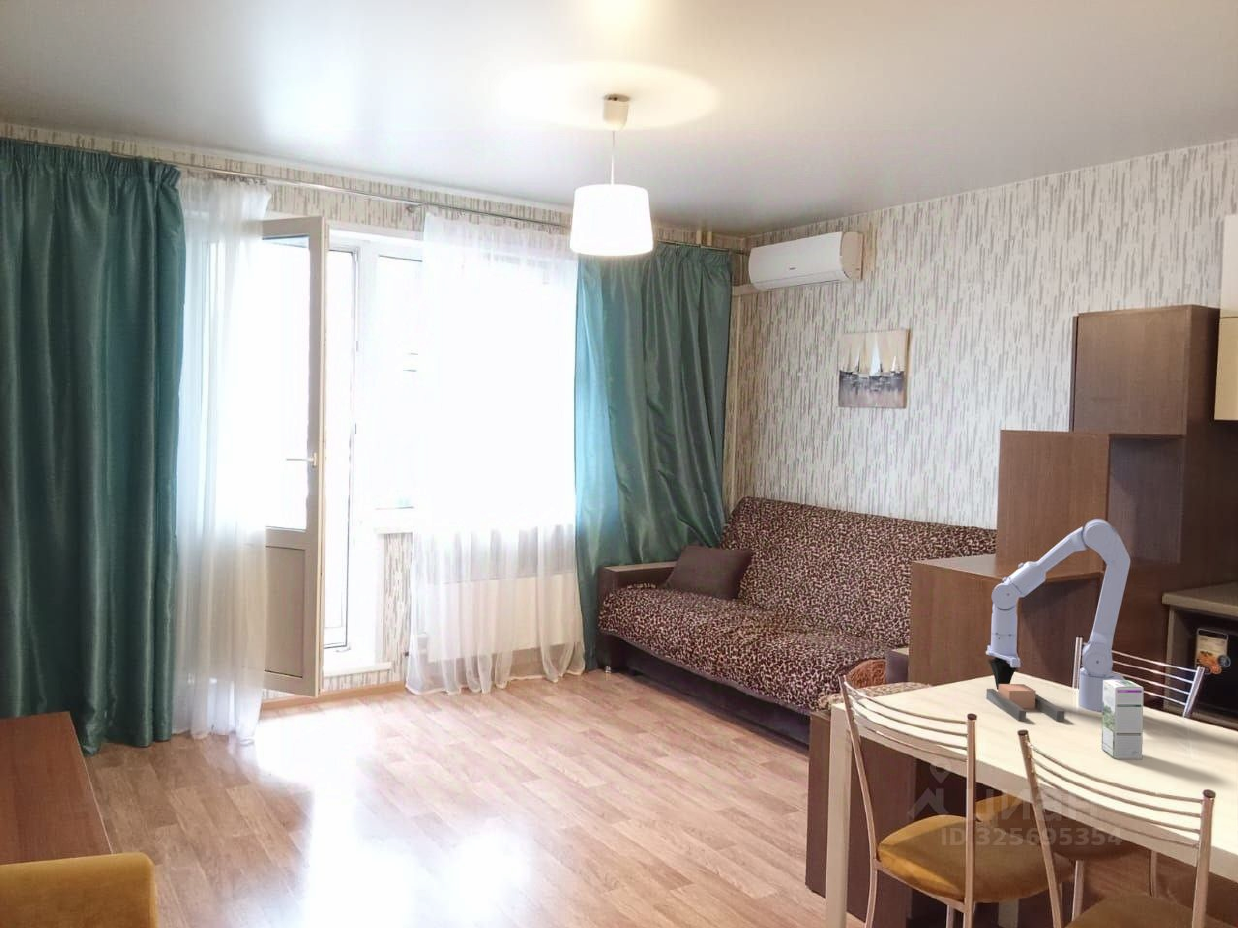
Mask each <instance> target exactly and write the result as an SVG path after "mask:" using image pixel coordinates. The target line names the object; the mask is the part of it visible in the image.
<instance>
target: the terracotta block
mask: <svg viewBox="0 0 1238 928" xmlns="http://www.w3.org/2000/svg"><path fill="white" fill-rule="evenodd" d="M997 692H999V693H1000V694H1002V695H1003V696H1005V697H1006V698H1008V699H1009V700H1011V701H1012V702H1014V703H1015V704H1017V705H1018V706H1020V707H1021V708H1023V709H1031V710H1032V709H1033V710H1034V709H1036V708H1035V693H1036V690H1034V689H1033V688H1031V687H1030V686H1028V685H1026V684H1023V683H1022V684H1021V683H1015V684H1013V683H1010V684H999V690H997Z"/></svg>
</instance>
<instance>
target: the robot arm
mask: <svg viewBox="0 0 1238 928" xmlns="http://www.w3.org/2000/svg"><path fill="white" fill-rule="evenodd" d="M1087 546H1088V547H1089V548H1090V549H1092V550H1093V551H1094V552H1096V553H1098V554H1099V556H1100V557H1101V558H1102V560H1103V561H1104V562H1105V564H1106V567H1105V568H1106V569H1105V571H1104V572H1105V573H1104V575H1103V577H1104V578H1103V580H1102V586H1101V590H1100V593H1099V599H1098V604H1097V608H1096V613H1095V616H1094V622H1093V625H1092V626H1093V627H1092V629H1091V633H1090V637H1089V640H1088V642H1087V643H1085V645H1084V647H1083V648H1082V650H1081V652H1082V653H1081V654H1082V655H1081V656H1082V658H1081V662H1082V663H1081V664H1082V666H1083V667H1080V669H1079V678H1078V679H1079V681H1078V707H1080V708H1081V709H1085V710H1088V711H1095V712H1102V704H1103V680H1116V679H1118V680H1126V679H1125V678H1124V676H1123V675H1122V674H1120V673H1115V671H1113V666H1114V660H1113V652H1112V648H1113V644H1114V635H1115V632H1116V627H1117V623H1118V619H1119V615H1120V611H1121V610H1120V609H1121V605H1122V601H1123V598H1124V597H1123V596H1124V591H1125V589H1126V588H1125V587H1126V584H1127V578H1128V575H1129V570H1130V566H1131V558H1130V555H1129V553H1128V552H1127V549H1126V547H1125V545H1124V543H1123V541H1122V539H1121V536H1120V534H1119V533H1118V531H1117V529H1115V528H1114V527H1113V526H1112V524H1110V523H1109V522H1108V521H1106V520H1104V519H1101V518H1095V519H1091V520H1090V521H1088V522H1087V523H1086V524H1085V525H1084V526H1083V525H1082V526H1081V527H1079V528H1077V529H1076V530H1074V531H1072V532H1071V533H1069V534H1067V535H1066V536H1065V537H1064V538H1063V539H1062V540H1061V541H1059V542H1058V543H1057V544H1056V545H1055V546H1054V547H1052V548H1050V550H1048V551H1047V553H1045V554H1044V555H1043V556H1042V557H1041V558H1040V559H1039V560H1037V561H1027V562H1025V563H1024V562H1021V563H1020V564H1018V566H1017V568H1018V569H1016V570H1015V571H1014V572H1013V573H1011V574H1010V575H1009V576H1008V577H1006V576H1005V577H1003V578H1002V582H1001V583H998V584H997V585H996V586H995V587H994V589H993V590H992V593H991V601H992V613H991V626H990V627H991V629H990V630H991V631H990V635H991V637H990V645H987V649H986V651H985V655H988V656H992V657H994V658H990V659H988V663H989V665H990V667H991V670H992V672H993V676H994V683H995V687H996V691H998V690H999V684H1011V681H1012V678H1013V676H1014V673H1015V671H1016V670H1017V669H1018V668H1021V658H1019V655H1018V652H1017V647H1018V645H1017V642H1018V614H1017V610H1018V609H1017V607H1018V606H1017V605H1018V602H1019V599H1020V598H1025V597H1026V596H1028V595H1029V594H1030V593H1031V592H1033V590H1035V589H1036V588H1037V587H1039V586H1040V585H1041V584H1042V583H1044V582H1045V581H1046V577H1047V576H1046V573H1047V572H1048V571H1050V570H1051V569H1052V568H1053V567H1055V566H1056V565H1058V564H1059V563H1060V562H1062V561H1063V560H1064V559H1066V558H1067V557H1068V556H1069V555H1071V554H1073V553H1074V552H1081V551H1087V549H1088V548H1087Z"/></svg>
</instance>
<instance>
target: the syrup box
mask: <svg viewBox="0 0 1238 928" xmlns="http://www.w3.org/2000/svg"><path fill="white" fill-rule="evenodd" d="M1101 712H1102V714H1101V715H1102V716H1101V721H1102V722H1101V750H1102V752H1105V754H1108V756H1110V757H1111V758H1113V759H1118V760H1143V742H1144V741H1143V738H1144V737H1143V734H1144V724H1143V723H1144V687H1143V686H1141V685H1139V684H1138V683H1135V682H1134V681H1132V680H1128V679H1125V680H1118V679H1116V680H1103V704H1102V711H1101Z"/></svg>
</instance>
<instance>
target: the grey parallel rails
mask: <svg viewBox="0 0 1238 928" xmlns="http://www.w3.org/2000/svg"><path fill="white" fill-rule="evenodd" d="M985 694H986V697H985V699H986V700H987V701H989V702H990V703H992V704H993V705H995V706H996V707H997V708H999V709H1000V710H1002V711H1003V712H1004V713H1006V714H1007V715H1009V716H1010V717H1011V718H1013V719H1014V720H1016V721H1018V722H1026V723H1027V710H1025V708H1021V707H1020V706H1018V705H1017V704H1015V703H1014V702H1012V701H1011V700H1009V699H1008V698H1006V697H1005V696H1003V695H1002V694H1000V693H999V692H998V690H997V689H994V688H986V693H985ZM1035 709H1037V711H1040V712H1041V713H1043V714H1044V715H1045V716H1047V717H1049V718H1050V719H1051V720H1053V721H1055V722H1057V723H1064V722H1065V713H1066V712H1065V710H1063V709H1062V708H1060V707H1059V706H1058V705H1055V704H1053V703H1051V702H1050V701H1049V700H1047V699H1046V698H1044V697H1042V696H1040V695H1039V694H1037V692H1035Z"/></svg>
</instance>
